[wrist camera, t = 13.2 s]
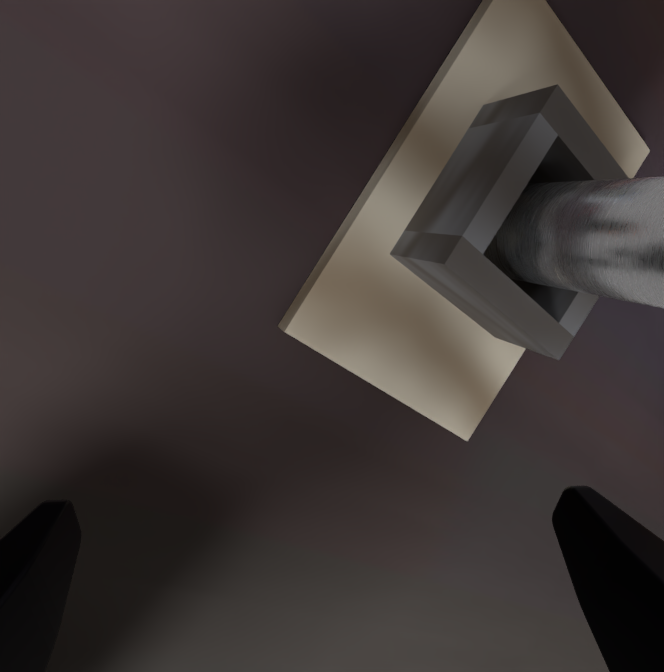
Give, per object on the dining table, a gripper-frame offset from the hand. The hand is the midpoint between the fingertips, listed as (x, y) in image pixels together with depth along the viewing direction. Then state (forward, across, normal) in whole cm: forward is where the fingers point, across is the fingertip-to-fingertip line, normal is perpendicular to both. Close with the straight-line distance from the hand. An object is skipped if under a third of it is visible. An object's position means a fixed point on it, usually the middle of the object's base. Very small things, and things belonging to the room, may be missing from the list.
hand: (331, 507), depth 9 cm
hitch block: (+16, -9, 0) cm, 18 cm away
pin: (+15, -9, 0) cm, 17 cm away
